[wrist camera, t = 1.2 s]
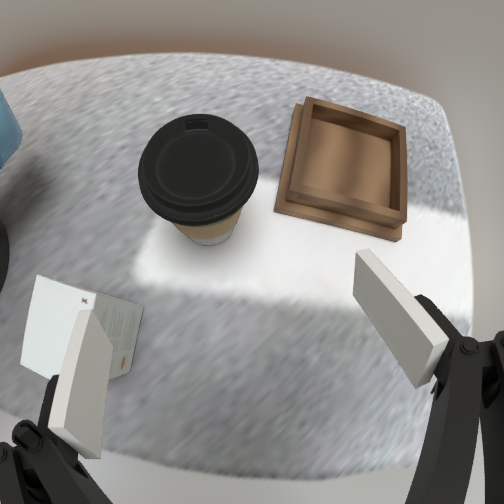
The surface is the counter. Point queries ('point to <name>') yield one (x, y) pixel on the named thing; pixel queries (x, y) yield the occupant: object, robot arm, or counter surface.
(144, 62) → the counter surface
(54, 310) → the small box
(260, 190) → the counter surface
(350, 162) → the wooden tray
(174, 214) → the coffee cup
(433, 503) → the robot arm
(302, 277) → the counter surface
